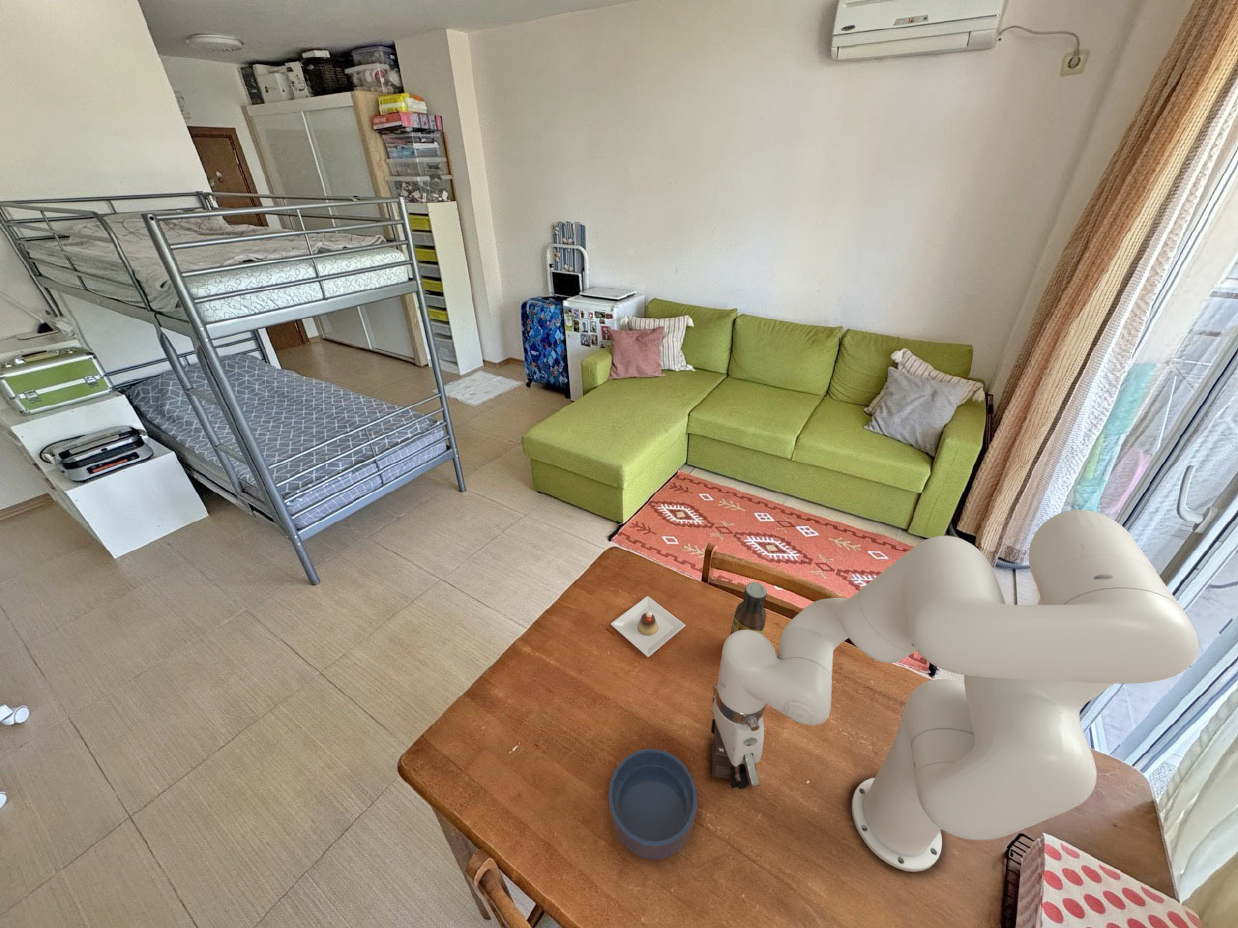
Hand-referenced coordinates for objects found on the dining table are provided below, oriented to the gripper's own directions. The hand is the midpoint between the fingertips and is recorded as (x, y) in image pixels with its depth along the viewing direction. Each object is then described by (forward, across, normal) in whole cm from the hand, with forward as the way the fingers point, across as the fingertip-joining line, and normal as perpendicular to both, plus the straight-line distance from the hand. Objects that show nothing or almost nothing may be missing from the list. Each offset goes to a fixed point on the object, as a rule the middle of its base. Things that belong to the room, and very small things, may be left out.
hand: (729, 756), depth 85 cm
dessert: (+2, +31, +7) cm, 32 cm away
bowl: (+2, -5, +15) cm, 16 cm away
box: (+2, 0, 0) cm, 2 cm away
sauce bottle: (+2, +20, -11) cm, 23 cm away
